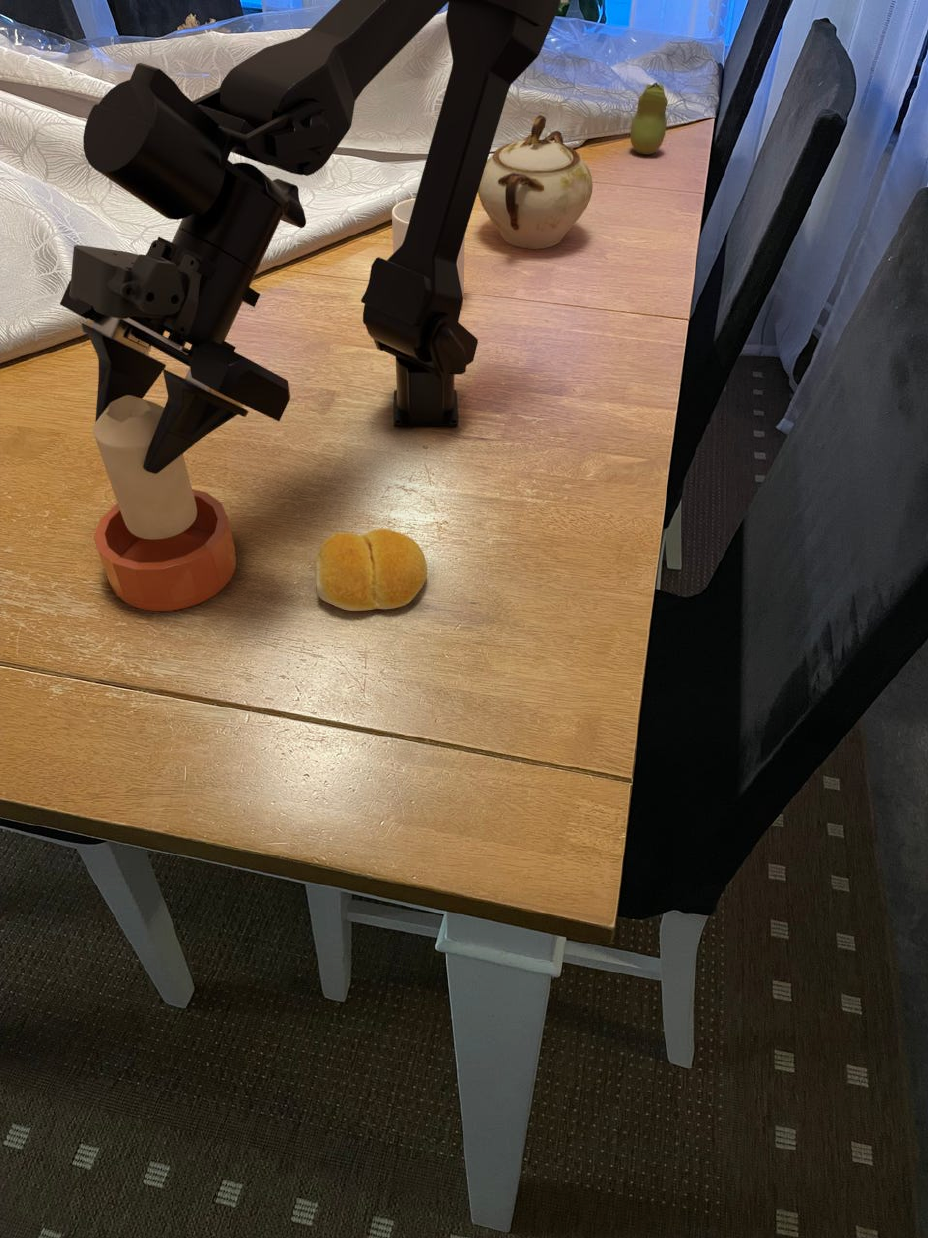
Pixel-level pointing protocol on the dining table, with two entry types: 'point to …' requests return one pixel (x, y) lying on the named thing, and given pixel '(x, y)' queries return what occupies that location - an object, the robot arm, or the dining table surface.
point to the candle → (143, 471)
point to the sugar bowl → (535, 189)
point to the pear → (649, 120)
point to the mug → (399, 227)
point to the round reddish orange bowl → (169, 559)
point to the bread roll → (370, 570)
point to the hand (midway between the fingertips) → (124, 455)
